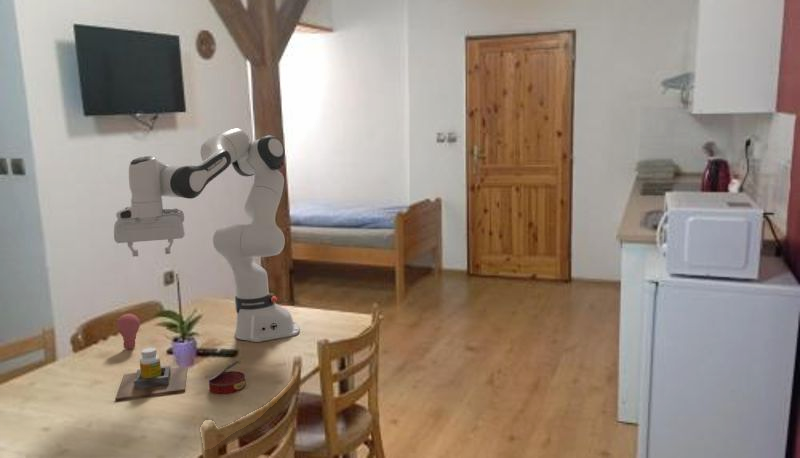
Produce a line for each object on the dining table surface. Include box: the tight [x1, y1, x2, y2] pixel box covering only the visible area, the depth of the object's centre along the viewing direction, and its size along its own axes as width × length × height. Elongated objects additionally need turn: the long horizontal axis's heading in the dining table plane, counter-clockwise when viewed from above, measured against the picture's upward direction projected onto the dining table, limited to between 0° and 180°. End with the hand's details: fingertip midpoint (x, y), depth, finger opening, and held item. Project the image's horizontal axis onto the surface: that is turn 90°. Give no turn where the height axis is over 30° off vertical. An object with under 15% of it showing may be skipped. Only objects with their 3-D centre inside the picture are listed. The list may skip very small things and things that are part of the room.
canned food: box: [208, 360, 246, 396], centre depth 183 cm, size 11×10×10 cm
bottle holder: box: [115, 365, 188, 402], centre depth 188 cm, size 18×18×3 cm
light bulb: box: [116, 313, 141, 350], centre depth 217 cm, size 7×7×12 cm
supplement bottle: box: [139, 347, 162, 379], centre depth 186 cm, size 5×5×10 cm
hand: (151, 254), depth 201 cm, fingers open, 8 cm apart
